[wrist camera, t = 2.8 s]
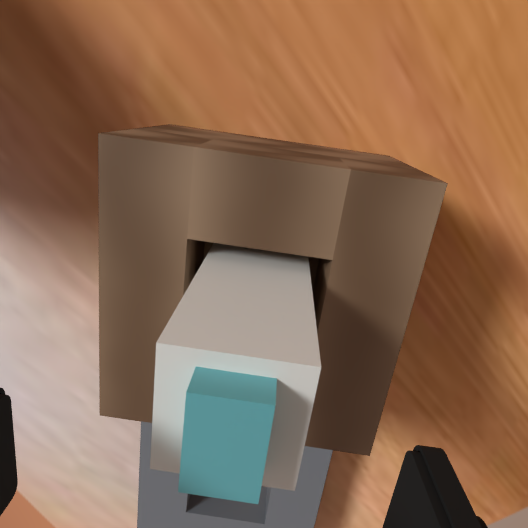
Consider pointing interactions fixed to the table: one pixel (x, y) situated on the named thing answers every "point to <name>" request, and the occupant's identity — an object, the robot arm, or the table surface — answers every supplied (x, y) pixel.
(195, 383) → the plug peg
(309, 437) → the upper socket tower
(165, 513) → the lower socket plate
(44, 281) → the table surface
